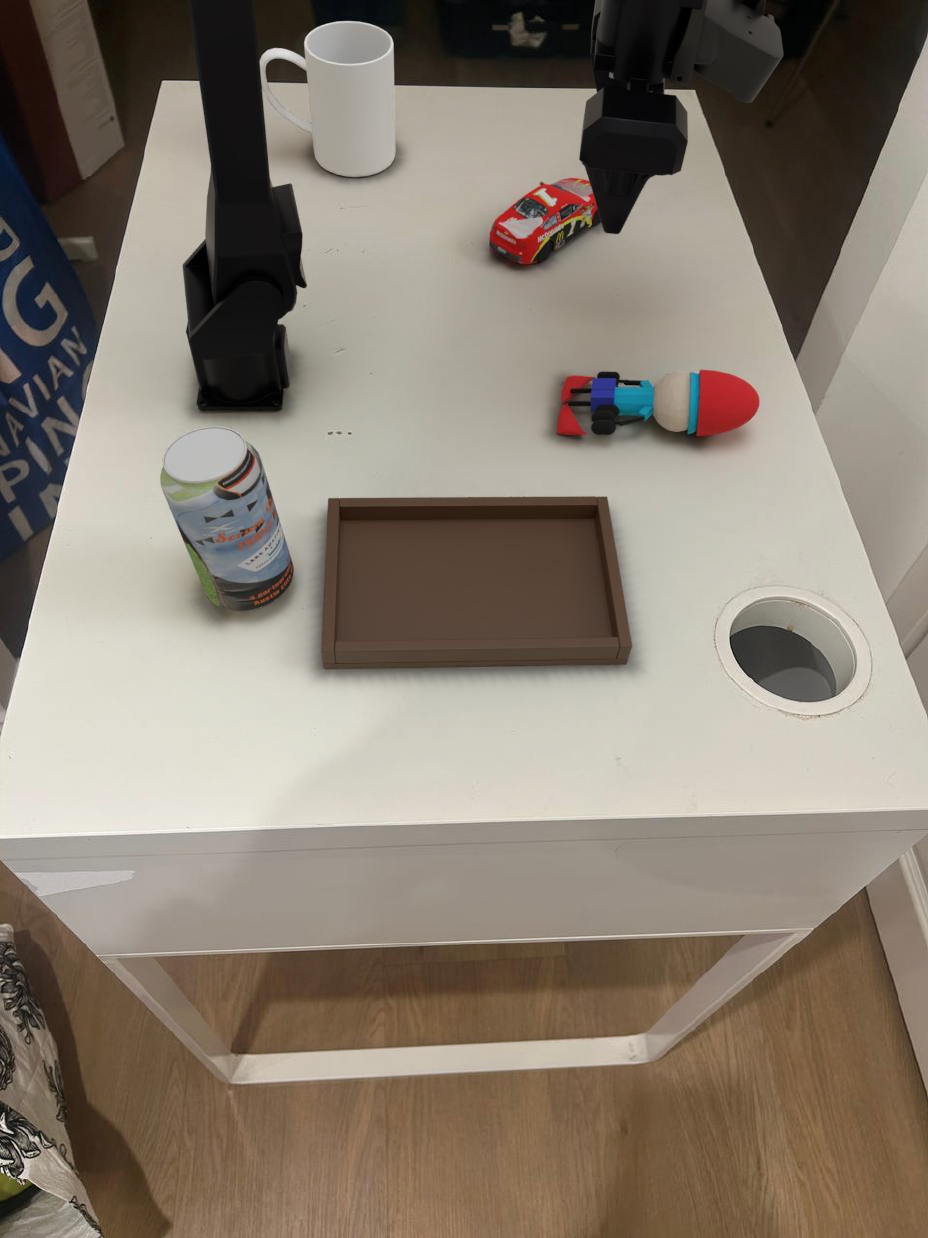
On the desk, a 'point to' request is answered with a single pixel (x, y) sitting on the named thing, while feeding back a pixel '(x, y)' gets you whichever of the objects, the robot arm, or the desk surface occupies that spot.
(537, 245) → the race car
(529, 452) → the desk surface
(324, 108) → the mug
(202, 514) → the beverage can
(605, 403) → the toy figure
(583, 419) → the desk surface
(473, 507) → the tray
